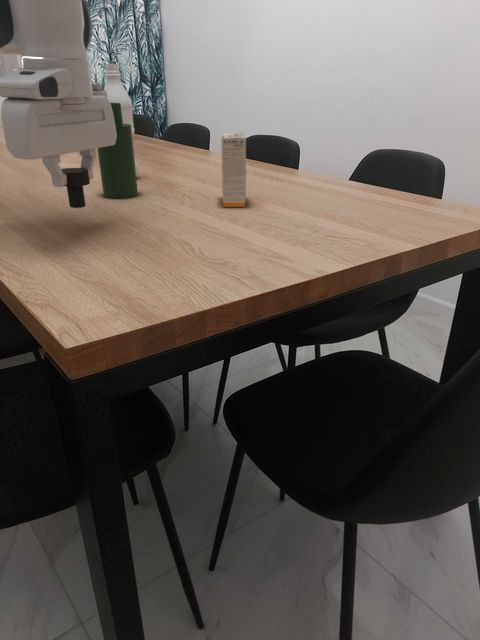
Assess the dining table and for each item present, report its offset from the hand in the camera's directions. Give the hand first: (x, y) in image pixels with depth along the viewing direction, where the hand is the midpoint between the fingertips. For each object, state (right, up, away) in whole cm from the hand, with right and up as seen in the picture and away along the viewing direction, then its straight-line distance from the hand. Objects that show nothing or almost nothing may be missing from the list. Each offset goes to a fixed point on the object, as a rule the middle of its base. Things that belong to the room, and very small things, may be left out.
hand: (74, 182), depth 78 cm
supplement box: (+24, +4, +27) cm, 36 cm away
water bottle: (-5, +17, +48) cm, 51 cm away
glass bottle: (-1, +8, +31) cm, 32 cm away
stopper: (0, -3, +2) cm, 4 cm away
